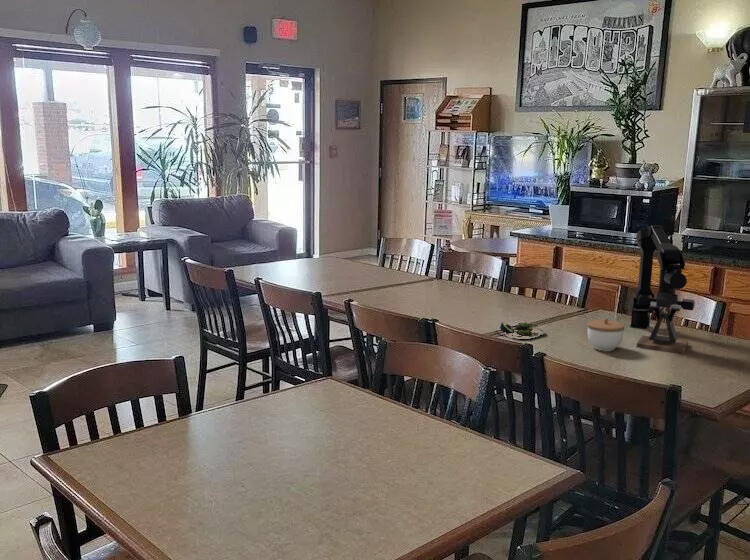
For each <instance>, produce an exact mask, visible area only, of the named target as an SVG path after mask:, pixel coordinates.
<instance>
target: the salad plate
mask: <svg viewBox="0 0 750 560" xmlns="http://www.w3.org/2000/svg"><path fill="white" fill-rule="evenodd" d="M510 325H511V324H508V323H506V322H504V321H502V322H501V323H500V329H501V331H503V332H506V333H514V329H512V328H511V327H516V329H515V330H518V331H517V332H516V333H517V334H519V335H521V336H517V337H522V336H529V337H533V336H538V334H537V335H536V334H535V333H532V332H531V331H532V330H533V328H534V329H538V330H540V331H542V333H541V334H540V335H542V334H544V335H545V334H546V330H544V329H541V328H537V327H539V324H532V322H529V323H527V322H518V325H515V326H510ZM512 336H513V335H512ZM542 336H543V335H542Z"/></svg>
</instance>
